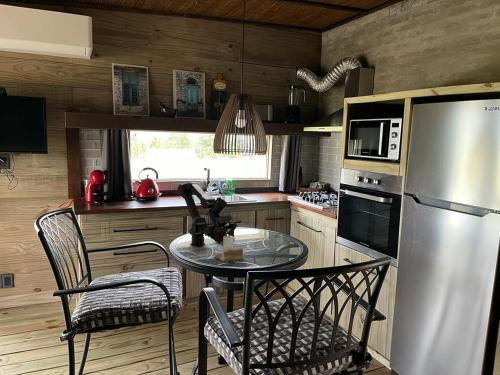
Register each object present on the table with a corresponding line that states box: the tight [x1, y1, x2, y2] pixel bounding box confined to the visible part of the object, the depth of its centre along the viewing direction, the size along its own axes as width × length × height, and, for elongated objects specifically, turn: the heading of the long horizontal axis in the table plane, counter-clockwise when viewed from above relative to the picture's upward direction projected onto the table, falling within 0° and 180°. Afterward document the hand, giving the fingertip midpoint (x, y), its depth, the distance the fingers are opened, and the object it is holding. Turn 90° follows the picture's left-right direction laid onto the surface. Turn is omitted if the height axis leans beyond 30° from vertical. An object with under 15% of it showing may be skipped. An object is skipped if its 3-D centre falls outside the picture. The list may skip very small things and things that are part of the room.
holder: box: [213, 248, 244, 263], centre depth 202 cm, size 10×11×5 cm
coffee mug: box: [217, 222, 229, 243], centre depth 233 cm, size 12×9×10 cm
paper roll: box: [222, 235, 235, 254], centre depth 201 cm, size 5×5×11 cm
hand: (227, 242), depth 202 cm, fingers open, 9 cm apart
